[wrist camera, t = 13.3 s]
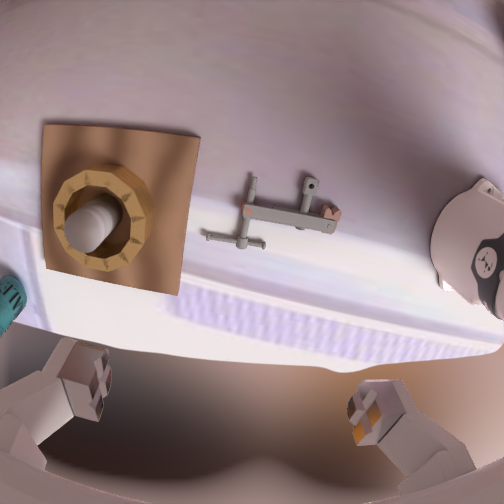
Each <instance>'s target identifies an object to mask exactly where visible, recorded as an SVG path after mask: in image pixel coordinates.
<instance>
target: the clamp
mask: <svg viewBox="0 0 504 504" xmlns="http://www.w3.org/2000/svg"><path fill="white" fill-rule="evenodd" d="M256 181H257V177H253V178H252V183H251V186H250V188H249V192H248V197H247V202H246V201H245V202H244V203H243V204H242V214H243V217H244V218H243V223H242V228H241V233H240V235H238V237H237V239H232V238H226V237H219V236H213V235H210V233H208V234H207V235H206V238H207V239H206V240H207V241H209V239H210V240H217V241H223V242H230V243H236V246H237V248H239V249H245V248H246V247H247V245H250V246H256V247H262V249H265V247H266V242H263V243H258V242H252V241H248V237H247V231H248V226H249V221H250V219H256V220H262V221H267V222H273V223H279V224H284V225H290V226H295V227H296V228H297V229H299V230H304V229H305V228H307V229H312V230H317V231H321V232H322V233H328V234H332V233H333V232H335V229H336V226H337V222H338V221H339V219H340V216H341V211H340V210H339V209H338V208H337V207H336V206H335V207H333V208H331V210H330V208H329V207H328V206H327V205H326V204H324V205H323V206H322V210H321V214H316V213H311V212H308V211H309V207H310V203H311V199H312V196H315V195H316V191H317V187H318V183H319V181H318V180H317V179H315V178H313V177H305V181H304V185H303V189H302V193H303V194H304V197H303V201H302V205H301V209H300V210H296V209H291V208H285V207H280V206H274V205H273V208H269V207H263V206H257V205H255V204H254V203H253V202H254V197H255V192H256V189H255V188H256ZM310 184H312V186H311V187H309V185H310Z"/></svg>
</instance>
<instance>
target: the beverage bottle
mask: <svg viewBox="0 0 504 504" xmlns="http://www.w3.org/2000/svg"><path fill="white" fill-rule="evenodd" d="M26 302H27V296H26V292H25V290H24V288H23V286H22V285H21V284H20V282H19V281H18V280H16V279H15V278H14V277H11V276H4V277H2V278H1V279H0V337H1V335H2V334H3V333H4V331H5V330H6V329H7V327H8V326H9V325H11V322H12V321H13V320H15V318H17V317H18V315H19V314H20V312H21V311H22V310H23V308H24V307H25V306H26Z"/></svg>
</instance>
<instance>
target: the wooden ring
mask: <svg viewBox="0 0 504 504" xmlns="http://www.w3.org/2000/svg"><path fill="white" fill-rule="evenodd" d="M87 185H93V186H100V187H107V188H108V189H109V190H110V191H112V192H113V193H114V194H116V195H117V196H118V197H119V198H121V199H122V200H123V202H124V204H125V207H126V209H127V211H128V213H129V216H130V218H131V231H130V239H129V240H127V241H124V242H122V243H119V244H117V245H115V244H109V243H104V242H101V244H100V245H99V246H98V247H97V248H96V249H95V250H94V251H92V252H89V253H82V252H79V251H77V250H75V249H74V248H73V247H71V245H70V244H69V243H68V241H67V239H66V237H65V233H64V225H65V222H66V220H67V218H68V217H69V216H70V215H72V214H73V213H74V212H76V211H77V210H78V209H79V202H80V197H81V195H82V193H83V192H84V190H85V188H86V186H87ZM154 211H155V205H154V203H153V201H152V198H151V196H150V194H149V191H148V189H147V187H146V184H145V182H144V181H143V180H141V179H140V178H139V177H138V176H136V175H135V174H134V173H133V172H131V171H130V170H129V169H128V168H126V167H125V166H121V165H113V164H104V163H99V164H97V165H95V166H93V167H90V168H88V169H86V170H84V171H82V172H80V173H79V174H77V175H75V176H73V177H71V178H70V179H68V180H66V181H64V183H63V185H62V187H61V189H60V191H59V193H58V195H57V197H56V199H55V201H54V203H53V218H54V230H55V232H56V234H57V236H58V238H59V240H60V242H61V244H62V246H63V248H64V250H65V251H66V252H67V253H68V254H69V255H70V256H72V257H73V258H74V259H75V260H77V261H78V262H79V263H80V264H82V265H83V266H84V267H87V268H92V269H97V270H101V271H106V272H109V271H112V270H115V269H117V268H120V267H123V266H126V265H129V264H130V263H131V262H132V260H133V259H134V257H135V256H136V255H137V253H138V252H139V250H140V249H141V248H142V246H143V245H144V244H145V242H146V240H147V239H148V237H149V236H150V234H151V233H152V231H153V221H154Z"/></svg>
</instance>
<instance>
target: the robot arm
mask: <svg viewBox="0 0 504 504" xmlns="http://www.w3.org/2000/svg"><path fill="white" fill-rule="evenodd" d="M430 250H431V258H432V262H433V264H434V266H435V268H436V270H437V271H438V274H439V285H440V288H441V289H443V290H444V291H454V290H455V291H456V292H457V293H459V294H460V295H461V296H462V297H463V298H464V299H465V300H467V301H468V302H469V303H470V304H472V305H475V304H478V305H479V304H483V305H484V306H485V307H486V309H487V310H488V311H489V312H490V313H491V314H493V315H494V316H495V317H497V318H498V319H501V320H503V321H504V195H503V194H502V193H501V192H500V191H499V190H498V189H497V188H496V187H495V186H494V185H493V184H492V183H491V182H490V181H488V180H487V179H485V178H482V179H480V180H479V181H478V182H477V183H476V184H475V185H474V186H473V187H472V188H471V189H470V190H468V191H466V192H463V193H461V194H459V195H458V196H456V197H455V198H453V199H452V200H451V201H450V202H449V203H448V204H447V205H446V207H445V208H444V209H443V211H442V212H441V214H440V216H439V218H438V219H437V222H436V224H435V227H434V230H433V233H432V238H431V246H430ZM109 358H110V357H109V351H108V350H107V349H104V348H100V347H97V346H94V345H90V344H87V343H83V342H80V341H76V340H72V339H70V338H66V337H64V338H62V339H61V340H60V342H59V344H58V345H57V347H56V348H55V350H54V352H53V353H52V355H51V357H50V358H49V360H48V362H47V363H46V365H45V367H44V369H43V370H42V372H41V371H36V372H34V373H32V374H30V375H28V376H27V377H24V378H22V379H20V380H19V381H17V382H15V383H13V384H11V385H9V386H7V387H5V388H3V389H1V390H0V504H156V503H150V502H145V501H141V500H136V499H132V498H127V497H123V496H119V495H115V494H112V493H108V492H104V491H101V490H97V489H94V488H91V487H88V486H85V485H81V484H79V483H76V482H73V481H70V480H67V479H65V478H62V477H59V476H57V475H54V474H52V473H49V472H47V471H44V469H45V466H46V463H47V461H46V459H45V457H44V456H43V454H42V453H41V452H40V450H39V448H38V447H37V445H38V444H40V443H41V442H42V441H44V440H45V439H46V438H47V437H49V436H50V435H51V434H52V433H54V432H55V431H56V430H57V429H59V428H60V427H61V426H63V425H64V424H65V423H66V422H68V421H69V420H70V419H71V418H73V417H74V415H75V416H79V417H82V418H86V419H90V420H93V421H97V422H98V421H99V418H100V416H101V413H102V409H103V407H104V404H103V399H102V398H104V397H105V396H107V395H108V392H109V389H110V385H111V377H112V376H111V375H112V373H111V367H110V366H109V365H108V364H107V363H108V361H109ZM357 388H358V392H357V393H355V394H354V395H353V396H352V397H351V398H350V400H349V402H348V406H347V416H348V419H349V421H350V422H351V423H352V424H353V425H354V428H353V430H352V432H353V435H354V439H355V442H356V445H357V446H360V445H373V444H378V445H377V446H378V447H379V448H380V449H381V450H382V451H383V452H384V453H385V454H386V455H387V457H389V459H390V460H391V461H392V462H393V463H394V464H395V465H396V466H397V467H398V468H399V469H400V470H401V471H402V472H403V473H404V474H405V475H406V477H407V479H406V480H404V481H403V482H402V483H401V484H400V485H399V486H398V491H399V494H400V496H396V497H392V498H387V499H383V500H378V501H374V502H369V503H364V504H504V457H502V458H500V459H498V460H496V461H494V462H492V463H490V464H488V465H485V466H483V467H481V468H479V469H476V467H475V465H474V463H473V461H472V459H471V457H470V455H469V452H468V450H467V449H466V446H465V445H464V444H463V443H462V442H461V441H459V440H458V439H457V438H456V437H454V436H453V435H452V434H450V433H449V432H448V431H446V430H445V429H444V428H442V427H441V426H440V425H438V424H437V423H436V422H434V421H433V420H431V419H430V418H429V417H428V416H426V415H425V414H424V413H422V412H418V410H417V408H416V406H415V404H414V402H413V400H412V398H411V396H410V394H409V392H408V390H407V388H406V386H405V384H404V382H403V381H402V380H401V379H390V380H363V381H362V382H360V384H359V385H358V387H357Z"/></svg>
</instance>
